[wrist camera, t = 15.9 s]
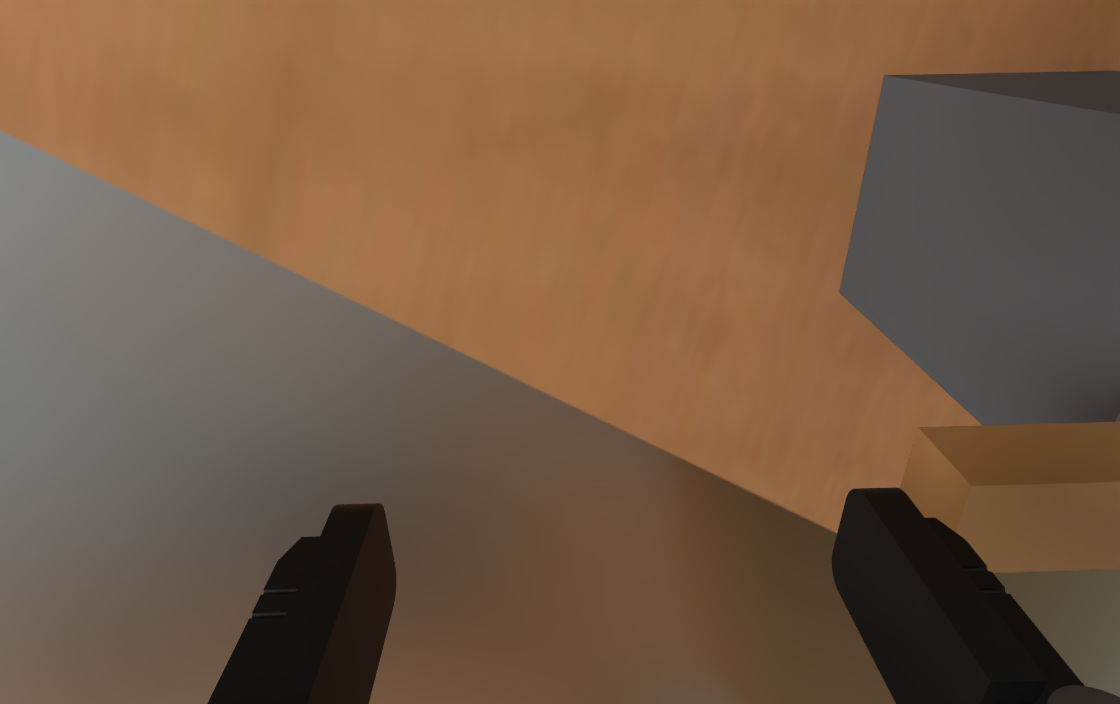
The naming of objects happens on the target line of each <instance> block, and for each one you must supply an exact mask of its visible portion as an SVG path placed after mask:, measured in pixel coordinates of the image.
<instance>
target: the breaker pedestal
mask: <svg viewBox="0 0 1120 704" xmlns="http://www.w3.org/2000/svg"><path fill="white" fill-rule="evenodd" d="M840 294H841V295H842V296H843V297H845V298H846V299H847V300H848V301H849V302H850V303H851V304H852V305H853V306H854V307H855V308H856V309H857V310H859V311H860V312H861V313H862V314H863V315H864V316H865V317H866V318H867V319H868V320H869V321H870V322H872V323H873V324H874V325H875V326H876V327H877V328H878V329H879V330H880V331H881V332H882V333H883V334H884V335H886V336H887V337H888V338H889V339H890V340H891V341H892V342H893V343H894V344H895V345H896V346H897V347H899V348H900V349H901V350H902V351H903V352H904V353H905V354H906V355H907V356H908V357H909V358H910V359H912V360H913V361H914V362H915V363H916V364H917V365H918V366H919V367H920V368H921V369H922V370H923V371H924V372H926V373H927V374H928V375H929V376H930V377H931V378H932V379H933V380H934V381H935V382H936V383H937V384H939V385H940V386H941V387H942V388H943V389H944V390H945V391H946V392H947V393H948V394H949V395H950V396H952V397H953V398H954V399H955V400H956V401H957V402H958V403H959V404H960V405H961V406H962V407H963V408H964V409H966V410H967V411H968V412H969V413H970V414H971V415H972V416H973V417H974V418H975V419H976V420H977V421H979V422H980V423H981V424H982V425H983V426H985V425H1021V424H1056V423H1092V422H1120V71H1089V72H1038V73H987V74H936V75H885V76H884V80H883V84H882V89H881V94H880V99H879V104H878V109H877V114H876V118H875V123H874V128H873V133H872V138H871V143H870V147H869V152H868V157H867V162H866V167H865V172H864V177H863V181H862V186H861V191H860V196H859V201H858V206H857V210H856V215H855V220H854V225H853V230H852V235H851V240H850V244H849V249H848V254H847V259H846V264H845V269H844V273H843V278H842V283H841V288H840Z"/></svg>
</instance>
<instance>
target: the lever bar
mask: <svg viewBox="0 0 1120 704" xmlns="http://www.w3.org/2000/svg"><path fill="white" fill-rule="evenodd" d="M900 489H902V490H903V491H904V492H905V493H906V494H907V495H908V496H909V498H910V499H911V500H912V502H913V503H914V504H915V506H916V507H917V508H918V510H919V511H920V512H921V513H922V515H923V516H924V517H925V518H937V519H938V520H939V521H941V522H942V523H943V524H945V525H946V526H948V527H949V528H950V529H952V530H953V531H954V532H956V533H957V534H959V535H960V536H961V537H963V538H964V539H965V540H966V541H967V542H968V543H969V544H970V546H971V547H972V548H973V549H974V550H975V552H976V553H977V554H978V555H979V557H980V558H981V559H982V560H983V562H984V563H985V564H986V565H987V570H988V571H992V573H1002V572H1003V573H1005V572H1037V571H1065V570H1066V571H1067V570H1099V569H1100V570H1102V569H1120V422H1092V423H1056V424H1021V425H985V426H950V427H918V429H917V433H916V436H915V439H914V443H913V446H912V449H911V453H910V456H909V459H908V463H907V466H906V469H905V473H904V476H903V479H902V483H901V486H900Z"/></svg>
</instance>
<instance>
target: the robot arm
mask: <svg viewBox="0 0 1120 704" xmlns="http://www.w3.org/2000/svg"><path fill="white" fill-rule="evenodd" d="M832 571H833V577H834V581H835V584H836V587H837V589H838V592H839V594H840V595H841V598H842V600H843V601H844V603H845V605H846V607H847V609H848V611H849V613H850V615H851V617H852V619H853V621H854V623H855V625H856V627H857V628H858V631H859V633H860V634H861V636H862V638H863V640H864V642H865V644H866V646H867V648H868V650H869V652H870V654H871V656H872V658H873V660H874V662H875V664H876V666H877V668H878V670H879V671H880V673H881V675H882V677H883V679H884V681H885V683H886V685H887V687H888V689H889V691H890V693H891V695H892V697H893V698H894V700H895V702H896V704H1120V697H1118V696H1116V695H1114V694H1111V693H1108V692H1106V691H1103V690H1100V689H1096V688H1093V687H1087V686H1085V685H1084V684H1083V683H1082V682H1081V681H1080V680H1079V679H1078V678H1077V676H1076V675H1075V674H1074V673H1073V672H1072V670H1071V669H1070V668H1069V666H1068V665H1067V664H1066V663H1065V661H1064V660H1063V659H1062V658H1061V657H1060V655H1059V654H1058V653H1057V652H1056V651H1055V649H1054V648H1053V647H1052V645H1051V644H1050V643H1049V642H1048V641H1047V639H1046V638H1045V637H1044V636H1043V634H1042V633H1041V632H1040V631H1039V629H1038V628H1037V627H1036V626H1035V625H1034V623H1033V622H1032V621H1031V620H1030V619H1029V617H1028V616H1027V615H1026V614H1025V612H1024V611H1023V610H1022V609H1021V607H1020V606H1019V605H1018V604H1017V602H1016V601H1015V600H1014V599H1013V597H1012V596H1011V595H1010V594H1006V592H1005V587H1004V586H1003V585H1002V584H1001V583H1000V581H999V580H998V579H997V578H996V576H995V575H994V574H993V573H992V571H988V570H987V565H986V564H985V563H984V562H983V560H982V559H981V558H980V557H979V555H978V554H977V553H976V552H975V550H974V549H973V548H972V547H971V546H970V544H969V543H968V542H967V541H966V540H965V539H964V538H963V537H961V536H960V535H959V534H957V533H956V532H954V531H953V530H952V529H950V528H949V527H948V526H946V525H945V524H943V523H942V522H941V521H939V520H938V519H937V518H925V517H924V516H923V515H922V513H921V512H920V511H919V510H918V508H917V507H916V506H915V504H914V503H913V502H912V500H911V499H910V498H909V496H908V495H907V494H906V493H905V492H904V491H903V490H902V489H900V488H863V489H852V490H851V491H850V492H849V493H848V495H847V498H846V501H845V505H844V509H843V513H842V517H841V521H840V525H839V529H838V533H837V537H836V541H835V545H834V549H833V553H832ZM395 594H396V568H395V562H394V557H393V552H392V546H391V541H390V536H389V531H388V526H387V520H386V515H385V510H384V508H383V506H382V504H379V503H376V504H343V505H341V504H340V505H335V506H334V507H333V509H332V511H331V513H330V515H329V517H328V520H327V522H326V524H325V526H324V529H323V531H322V533H321V536H320V537H301V539H300V540H298V541H297V542H296V544H294V545H293V546H292V547H291V548H290V549H289V550H288V551H287V552H286V553H285V554H284V555H283V556H282V557H281V558H280V559H279V560H278V561H277V564H276V565H275V567H274V570H273V571H272V573H271V576H270V578H269V580H268V582H267V584H266V586H265V588H264V594H263V595H261V596H260V598H259V600H258V602H257V604H256V606H255V608H254V610H253V612H252V613H253V615H252V618H251V619H249V620H248V622H247V625H246V626H245V628H244V631H243V632H242V635H241V637H240V639H239V641H238V643H237V645H236V647H235V649H234V651H233V653H232V655H231V657H230V659H229V661H228V663H227V665H226V667H225V669H224V671H223V673H222V675H221V677H220V679H219V681H218V683H217V686H216V688H215V689H214V691H213V693H212V696H211V698H210V700H209V702H208V704H369V700H370V696H371V692H372V688H373V684H374V680H375V677H376V673H377V669H378V665H379V661H380V657H381V653H382V649H383V645H384V641H385V637H386V634H387V630H388V626H389V621H390V618H391V614H392V610H393V606H394V601H395Z"/></svg>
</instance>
